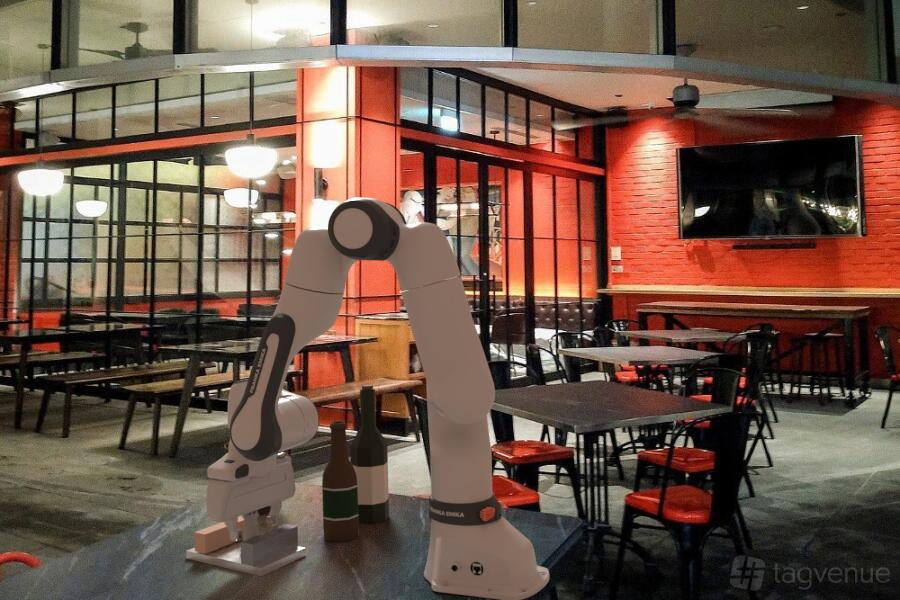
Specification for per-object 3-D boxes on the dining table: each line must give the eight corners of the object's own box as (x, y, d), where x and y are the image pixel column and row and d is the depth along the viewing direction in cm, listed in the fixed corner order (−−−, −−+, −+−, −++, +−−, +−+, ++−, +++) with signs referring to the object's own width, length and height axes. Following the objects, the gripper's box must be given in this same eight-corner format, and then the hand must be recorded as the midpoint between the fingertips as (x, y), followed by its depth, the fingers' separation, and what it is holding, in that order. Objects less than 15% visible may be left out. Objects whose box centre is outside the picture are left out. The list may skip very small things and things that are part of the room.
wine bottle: (396, 515, 170) (393, 384, 170) (373, 525, 163) (370, 388, 163) (367, 510, 175) (364, 382, 174) (344, 520, 168) (341, 386, 167)
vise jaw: (252, 535, 154) (251, 517, 154) (205, 553, 143) (205, 534, 143) (241, 533, 155) (241, 515, 155) (194, 551, 145) (194, 532, 145)
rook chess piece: (251, 557, 141) (250, 515, 141) (235, 553, 144) (233, 512, 144) (269, 550, 145) (267, 509, 145) (252, 546, 148) (251, 506, 147)
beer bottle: (352, 543, 152) (349, 426, 152) (316, 541, 154) (313, 425, 154) (364, 531, 160) (361, 419, 160) (330, 529, 162) (327, 418, 161)
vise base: (306, 555, 146) (305, 527, 146) (261, 576, 136) (260, 546, 136) (233, 539, 156) (232, 513, 156) (186, 558, 146) (185, 530, 146)
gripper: (278, 448, 155) (280, 515, 155) (199, 470, 138) (201, 545, 138) (301, 451, 152) (303, 519, 152) (224, 474, 134) (226, 551, 135)
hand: (254, 532), depth 145 cm, fingers open, 8 cm apart
